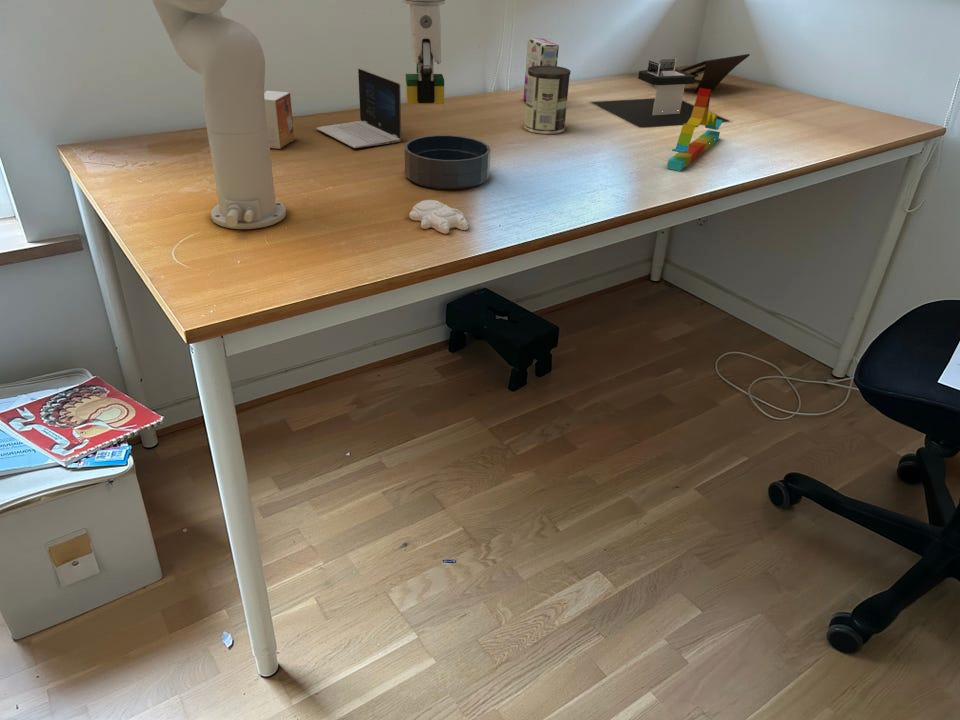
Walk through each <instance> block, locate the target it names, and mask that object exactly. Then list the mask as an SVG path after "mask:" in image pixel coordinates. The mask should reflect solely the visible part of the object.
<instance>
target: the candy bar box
mask: <svg viewBox="0 0 960 720" xmlns="http://www.w3.org/2000/svg"><path fill="white" fill-rule="evenodd" d="M559 47H560V45H558V44H556V43H554V42H553V41H550V40H547V39H545V38H538V37H537V38H535V37H534V38H528V39H527V49H526V61H525V62H526V63H525V74H524V75H525V76H524V85H523V86H524V87H523V99H522V100H523V101H524V102H526V99H527V83H528V68H529V67H532V66H541V65H543V66H545V65H546V66H558V58H559V50H560V49H559Z"/></svg>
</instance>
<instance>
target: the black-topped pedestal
mask: <svg viewBox="0 0 960 720" xmlns="http://www.w3.org/2000/svg"><path fill="white" fill-rule="evenodd" d="M647 64H648V65H647V69H646V70H639V71H638V75H637V76H638V77H637V79H638V80H640V81H642V82H645V83H647V84H650V85H652V86H653V87H654V88H655V89H656V90H655V96H654V98H641V99H640V98H639V99H637V98H636V99H622V100H621V99H620V100H603V101H602V100H601V101H592V103H593V104H594V105H597V106H599V107H600V108H603V109H604V110H606V111H608V112H610V113H612V114H614V115H616V116H618V117H620V118H621V119H623V120H625V121H627V122H629V123H632V124H633V125H636V126H637V127H640V128H643V127H644V128H645V127H647V128H648V127H660V126H675V125H683V124H686V123H687V122H688V120H689V119H690V118H691V115H692V111H693V108H694V104H691V103H688V102H687V101H684V100H683V98H684V92H685V87H686V85H695V82H696V81H695V80H696V77H695V76H694V75H691V74H689V72H688V73H686V72H683V71H680V70H681V69H677V68H676V65H677V58H675V59H672V58H671V59H661V58H659V60H658V62H655V61H653V60H651V59H648V63H647ZM677 110H679V111H677ZM662 111H663V112H662ZM717 119H718V120H723V121H722V122H729V121H730V120H729V119H727V118H724V117H722V116H719V115H717Z"/></svg>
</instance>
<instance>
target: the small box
mask: <svg viewBox="0 0 960 720" xmlns="http://www.w3.org/2000/svg"><path fill="white" fill-rule="evenodd" d="M264 99H265V112H266V121H267V129H268V137H269V146H270V149H278V150H280V149H281V150H282V148H284V147H285V146H287V145H288V144H290V143H292V142H293V141H295V131H294V120H293V110H292V109H293V108H292V98H291V93H290V92H288V91H279V90H278V91H277V90H266V91H264Z"/></svg>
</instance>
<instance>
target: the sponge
mask: <svg viewBox="0 0 960 720" xmlns="http://www.w3.org/2000/svg"><path fill="white" fill-rule="evenodd" d="M421 75H422V74H421ZM433 77H434V82H435V101H434V103H418V101H417V80H419V79H418V73H405V99H406V104H407V105H445V77H444V75H443V73H433Z"/></svg>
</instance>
